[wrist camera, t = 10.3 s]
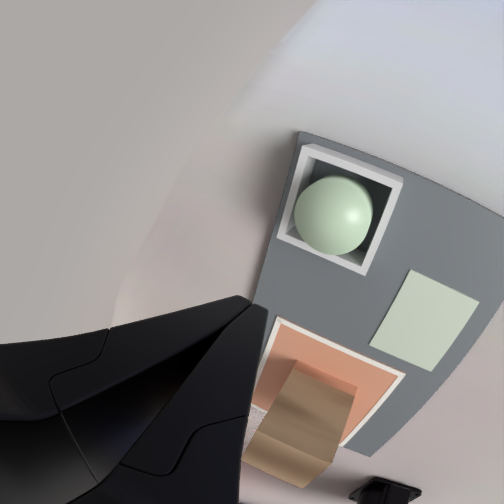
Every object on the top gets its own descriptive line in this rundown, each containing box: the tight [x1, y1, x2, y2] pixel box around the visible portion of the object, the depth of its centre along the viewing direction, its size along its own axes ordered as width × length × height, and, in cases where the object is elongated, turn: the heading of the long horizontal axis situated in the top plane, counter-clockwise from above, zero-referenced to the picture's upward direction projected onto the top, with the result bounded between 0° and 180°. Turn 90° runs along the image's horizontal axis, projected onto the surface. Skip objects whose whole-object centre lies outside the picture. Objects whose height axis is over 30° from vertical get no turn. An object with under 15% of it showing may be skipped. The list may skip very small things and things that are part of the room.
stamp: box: [241, 360, 358, 489], centre depth 20 cm, size 5×5×7 cm
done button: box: [294, 174, 373, 255], centre depth 15 cm, size 4×4×2 cm
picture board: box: [251, 131, 504, 457], centre depth 20 cm, size 23×15×3 cm, turn 166°
